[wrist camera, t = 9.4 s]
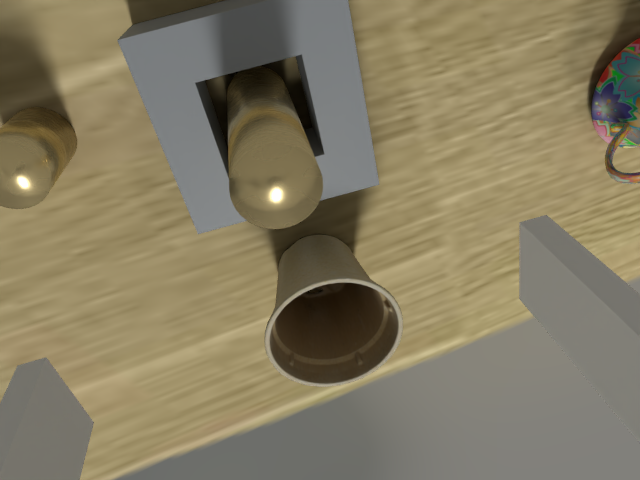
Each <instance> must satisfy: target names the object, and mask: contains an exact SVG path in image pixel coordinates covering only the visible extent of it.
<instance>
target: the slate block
mask: <svg viewBox="0 0 640 480" xmlns="http://www.w3.org/2000/svg"><path fill="white" fill-rule="evenodd" d="M118 43H119V45H120V47H121V50H122V52H123V55H124V57H125V59H126V62H127V64H128V67H129V69H130V71H131V74H132V76H133V79H134V81H135V83H136V86H137V88H138V91H139V93H140V95H141V98H142V100H143V103H144V105H145V108H146V110H147V112H148V115H149V117H150V120H151V122H152V124H153V127H154V129H155V132H156V134H157V136H158V139H159V141H160V144H161V146H162V148H163V151H164V153H165V156H166V158H167V160H168V163H169V165H170V168H171V170H172V172H173V175H174V177H175V180H176V182H177V184H178V187H179V189H180V192H181V194H182V196H183V199H184V201H185V204H186V206H187V208H188V211H189V213H190V216H191V218H192V220H193V223H194V225H195V228H196V230H197V232H198V234H200V233H204V232H208V231H211V230H215V229H219V228H222V227H226V226H230V225H233V224H237V223H240V222H244V221H247V220H245V219H244V218H243V217H242V216H241V215H240V214H239V213H238V212H237V210H236V209H235V207H234V206H233V203H232V201H231V198H230V192H229V161H228V147H227V144H226V142H225V139H224V136H223V133H222V130H221V127H220V124H219V121H218V118H217V115H216V112H215V109H214V106H213V103H212V100H211V97H210V94H209V91H208V89H207V86H206V83H205V80H208V79H211V78H215V77H219V76H223V75H226V74H230V73H234V72H238V71H241V70H245V69H249V68H253V67H256V66H260V65H264V64H268V63H271V62H275V61H279V60H283V59H286V58H290V57H294V56H296V60H297V64H298V69H299V73H300V77H301V81H302V86H303V90H304V94H305V98H306V103H307V107H308V111H309V115H310V120H311V124H312V128H309V129H305V130H304V131H305V134H306V136H307V139H308V141H309V144H310V146H311V149H312V151H313V154H314V156H315V158H316V161H317V163H318V166H319V168H320V171H321V174H322V178H323V192H322V196H321V199H320V201H321V200H324V199H328V198H332V197H335V196H339V195H343V194H346V193H350V192H354V191H357V190H361V189H365V188H368V187H372V186H376V185H379V180H378V174H377V168H376V162H375V156H374V150H373V144H372V138H371V133H370V127H369V121H368V115H367V109H366V103H365V97H364V91H363V85H362V80H361V74H360V68H359V62H358V56H357V50H356V44H355V38H354V32H353V27H352V21H351V15H350V9H349V3H348V0H225V1H221V2H218V3H214V4H210V5H206V6H202V7H198V8H195V9H191V10H187V11H183V12H179V13H176V14H172V15H168V16H164V17H160V18H157V19H153V20H149V21H145V22H141V23H138V24H134V25H132V26H131V27H130V28H129V29H128V30H127V31H126V32H125V33H124V34H123V35H122V36H121V37H120V38H119V39H118Z"/></svg>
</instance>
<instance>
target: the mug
mask: <svg viewBox="0 0 640 480" xmlns="http://www.w3.org/2000/svg"><path fill="white" fill-rule="evenodd" d="M591 114H592V121H593V125H594V127H595V129H596V131H597V133H598V134H599V136H600V137H601V138H602V139H603V140H604V141H606V142H607V143H609V145H608V148H607V150H606V155H605V165H606V169H607V172H608V174H609V175H610V177H611V178H613V179H614V180H615V181H617V182H620V183H624V184H636V183H640V172H638V173H623V172H620V171H618V170H616V169H615V168H614V166H613V164H612V159H613V155H614V152H615V150H616V149H617V147H622V148H634V147H640V38H639V39H637V40H635V41H634V42H632V43H631V44H629V45H628V46H627V47H625V48H624V49H623V50H622V51H621V52H620V53H618V54H617V56H616V57H615V58H614V59H613V60H612V61H611V62H610V63H609V65H608V66H607V67H606V69H605V70H604V72H603V74H602V75H601V77H600V79H599V81H598V83H597V86H596V88H595V91H594V95H593V99H592V108H591Z"/></svg>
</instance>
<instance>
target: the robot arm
mask: <svg viewBox="0 0 640 480" xmlns="http://www.w3.org/2000/svg"><path fill="white" fill-rule="evenodd" d="M519 299H520V300H521V301H522V302H523V304H524V305H525V306H526V307H527V308H528V310H529V311H530V312H531V313H532V315H533V316H534V317H535V318H536V319H537V320H538V322H539V323H540V324H541V325H542V327H543V328H544V329H545V330H546V331H547V333H548V334H549V335H550V336H551V337H552V339H553V340H554V341H555V342H556V343H557V344H558V346H559V347H560V348H561V349H562V351H563V352H564V353H565V354H566V355H567V357H568V358H569V359H570V360H571V361H572V363H573V364H574V365H575V366H576V367H577V369H578V370H579V371H580V372H581V373H582V375H583V376H584V377H585V378H586V380H587V381H588V382H589V383H590V384H591V385H592V387H593V388H594V389H595V390H596V392H597V393H598V394H599V395H600V396H601V397H602V399H603V400H604V401H605V402H606V404H607V405H608V406H609V407H610V408H611V409H612V411H613V412H614V413H615V414H616V416H617V417H618V418H619V419H620V420H621V422H622V423H623V424H624V425H625V426H626V428H627V429H628V430H629V431H630V432H631V434H632V435H633V436H634V437H635V439H636V440H637V441H638V442H639V443H640V294H639V293H638V292H636V291H635V290H634V289H633V288H632V287H630V286H629V285H628V284H627V283H626V282H625V281H623V280H622V279H621V278H620V277H619V276H618V275H616V274H615V273H614V272H613V271H612V270H610V269H609V268H608V267H607V266H606V265H605V264H603V263H602V262H601V261H600V260H599V259H598V258H596V257H595V256H594V255H593V254H592V253H591V252H589V251H588V250H587V249H586V248H585V247H583V246H582V245H581V244H580V243H579V242H578V241H576V240H575V239H574V238H573V237H572V236H571V235H569V234H568V233H567V232H566V231H565V230H564V229H562V228H561V227H560V226H559V225H558V224H556V223H555V222H554V221H553V220H552V219H551V218H549V217H548V216H547V215H544V216H541V217H537V218H534V219H530V220H527V221H523V222H520V290H519ZM93 424H94V422H93V421H92V419H91V418H90V417H89V415H88V414H87V412H86V411H85V410H84V408H83V407H82V406H81V404H80V403H79V401H78V400H77V399H76V397H75V396H74V395H73V393H72V392H71V391H70V389H69V388H68V386H67V385H66V384H65V382H64V381H63V380H62V378H61V377H60V376H59V374H58V373H57V371H56V370H55V369H54V367H53V366H52V365H51V363H50V362H49V360H48V359H47V358H42V359H39V360H35V361H32V362H28V363H25V364H21V365H18V366H17V368H16V370H15V372H14V375H13V377H12V379H11V381H10V383H9V386H8V388H7V390H6V392H5V394H4V396H3V399H2V401H1V403H0V480H79V479H80V475H81V471H82V468H83V464H84V460H85V456H86V452H87V448H88V444H89V440H90V436H91V432H92V428H93Z"/></svg>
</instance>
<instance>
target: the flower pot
mask: <svg viewBox="0 0 640 480" xmlns="http://www.w3.org/2000/svg"><path fill="white" fill-rule="evenodd" d="M311 289H313V290H317V289H322V291H320V292H318V293H307V292H308V291H309V290H311ZM402 331H403V318H402V313H401V310H400V307H399V305H398V303H397V302H396V300H395V298H394V297H393V296H392V295H391V294H390V293H389V292H388V291H387V290H386V289H385V288H383V287H382V286H380V285H378V284H376V283H375V282H374V281H372V280H371V279H370V278H369V276H368V275H367V274H366V272H365V271H364V269H363V268H362V267H361V265H360V264H359V262H358V261H357V259H356V258H355V256H354V255H353V253H352V252H351V250H350V249H349V247H348V246H347V245H346V244H344V243H343V242H342V241H340V240H339V239H337V238H335V237H332V236H327V235H312V236H307V237H304V238H302V239H299V240H298V241H297V242H296V243H294V244H293V245H292V246H291V247H290V248H289V249H287V250H286V251H285V252H284V253H283V255H282V257H281V259H280V262H279V266H278V284H277V294H276V305H275V308H274V311H273V313H272V315H271V317H270V319H269V321H268V324H267V327H266V331H265V348H266V353H267V355H268V358H269V360H270V361H271V363H272V364H273V365H274V367H275V368H276V369H277V370H278V371H279V372H280V373H281V374H282V375H284V376H285V377H287V378H289V379H290V380H292V381H295V382H298V383H301V384H304V385H309V386H318V387H326V386H336V385H342V384H347V383H350V382H354V381H356V380H359V379H362V378H364V377H365V376H367V375H369V374H371V373H373V372H374V371H376V370H377V369H378V368H379V367H381V366H382V365H383V364H384V363H385V362H386V361H387V360H388V359H389V358H390V357H391V356H392V355H393V353H394V352H395V350H396V348H397V347H398V345H399V343H400V339H401V336H402Z"/></svg>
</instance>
